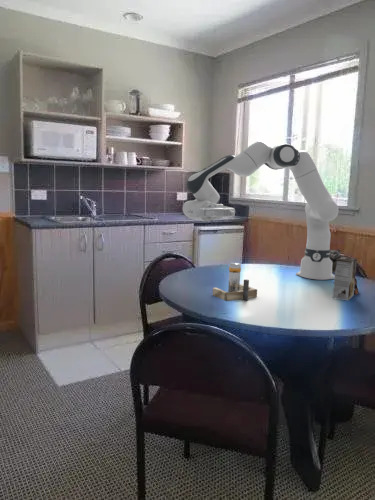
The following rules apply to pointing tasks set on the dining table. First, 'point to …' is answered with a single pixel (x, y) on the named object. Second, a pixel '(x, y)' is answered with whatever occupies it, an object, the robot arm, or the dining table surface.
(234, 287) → the silver metal cylinder
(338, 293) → the coffee box
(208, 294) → the dining table surface
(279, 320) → the dining table surface
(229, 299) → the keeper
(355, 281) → the pottery mug
